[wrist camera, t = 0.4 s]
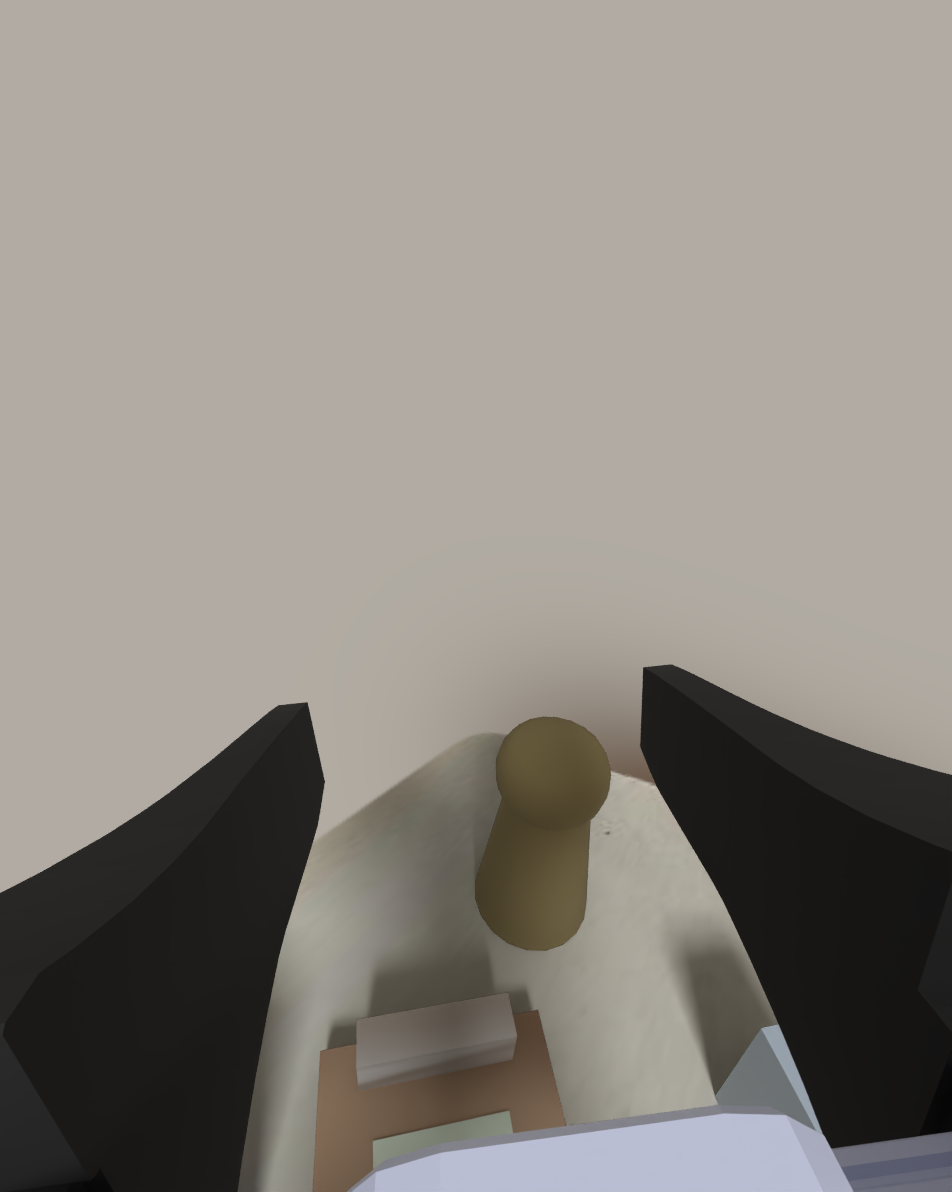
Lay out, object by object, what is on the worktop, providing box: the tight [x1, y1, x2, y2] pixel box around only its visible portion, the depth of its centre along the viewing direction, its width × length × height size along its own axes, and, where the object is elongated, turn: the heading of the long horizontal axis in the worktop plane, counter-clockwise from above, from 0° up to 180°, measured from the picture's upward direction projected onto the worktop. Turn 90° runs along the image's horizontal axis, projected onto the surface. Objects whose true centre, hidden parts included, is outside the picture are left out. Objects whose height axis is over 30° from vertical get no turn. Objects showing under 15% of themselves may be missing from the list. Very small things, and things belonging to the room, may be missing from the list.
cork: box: [475, 717, 611, 950], centre depth 26 cm, size 6×6×11 cm
